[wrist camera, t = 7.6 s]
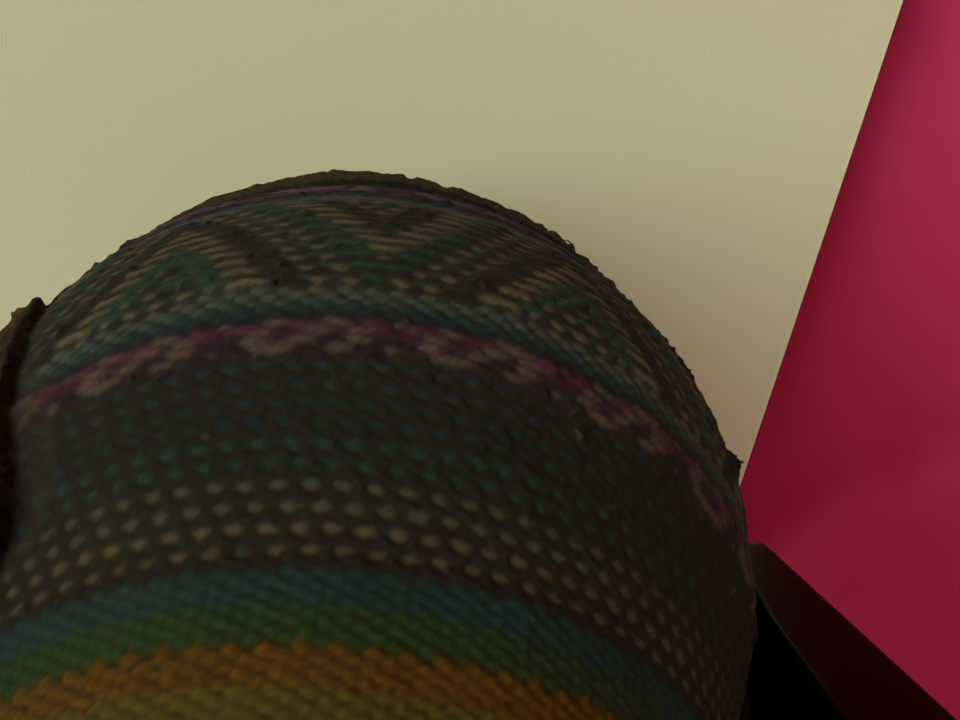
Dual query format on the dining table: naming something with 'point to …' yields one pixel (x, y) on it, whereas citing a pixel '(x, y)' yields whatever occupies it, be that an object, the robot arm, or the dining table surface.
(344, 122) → the cream square tile
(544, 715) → the mate gourd
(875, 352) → the dining table surface
